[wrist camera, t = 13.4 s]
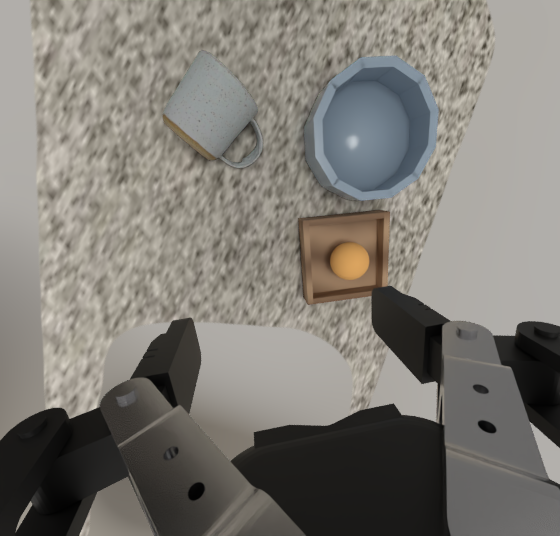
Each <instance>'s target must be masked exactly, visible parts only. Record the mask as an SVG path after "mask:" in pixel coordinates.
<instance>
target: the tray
mask: <svg viewBox="0 0 560 536" xmlns="http://www.w3.org/2000/svg"><path fill="white" fill-rule="evenodd" d="M298 221H299V236H300V252H301V267H302V282H303V297H304V299H305V300H306V302H307V304H308V305H310V304H317V303H324V302H332V301H339V300H346V299H353V298H360V297H368V296H371V295H372V290H373V289H374V288H379V287H385V286H387V283H388V253H389V224H390V212H389V211H382V210H374V211H365V212H355V213H345V214H336V215H326V216H317V217H307V218H298ZM346 242H354V243H357V244H359V245H361V246H362V247H364V249H365V250H366V251H367V253H368V256H369V266H368V269H367V271H366V272H365V273H364V274H363V275H362V276H361V277H359V278H357V279H354V280H345V279H342V278H340V277H338V276H337V275H336V274H335V273H334V272H333V270H332V268H331V265H330V258H331V254H332V252H333V250H334V249H335V248H336V247H337V246H339V245H340V244H342V243H346Z"/></svg>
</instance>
